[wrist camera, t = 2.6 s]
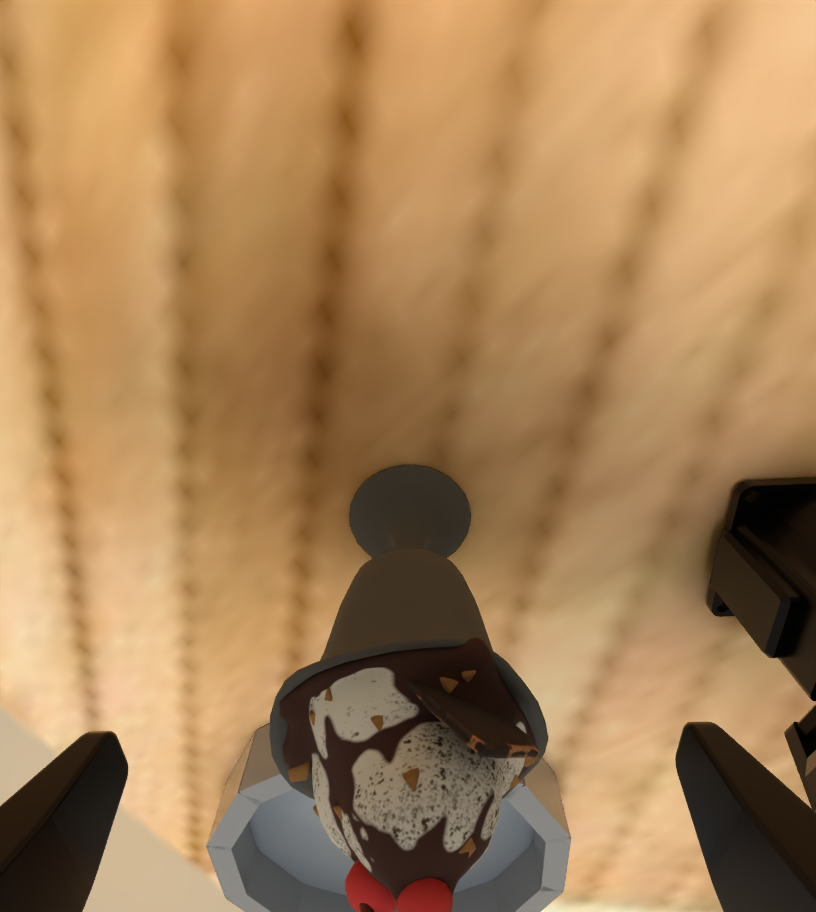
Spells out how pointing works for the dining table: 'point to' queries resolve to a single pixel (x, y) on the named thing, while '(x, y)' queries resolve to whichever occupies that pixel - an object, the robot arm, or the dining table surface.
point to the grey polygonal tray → (326, 867)
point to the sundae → (407, 706)
